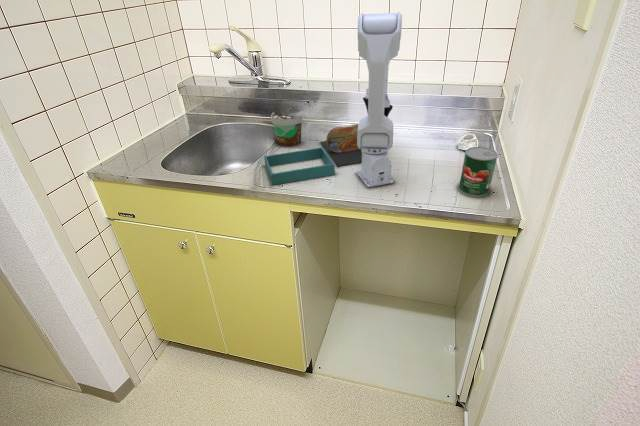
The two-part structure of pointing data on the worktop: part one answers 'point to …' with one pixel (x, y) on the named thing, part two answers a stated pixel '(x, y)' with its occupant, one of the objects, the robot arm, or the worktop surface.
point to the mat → (344, 156)
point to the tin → (343, 139)
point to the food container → (287, 129)
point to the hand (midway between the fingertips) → (376, 122)
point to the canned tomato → (477, 171)
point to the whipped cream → (468, 142)
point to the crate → (299, 173)
